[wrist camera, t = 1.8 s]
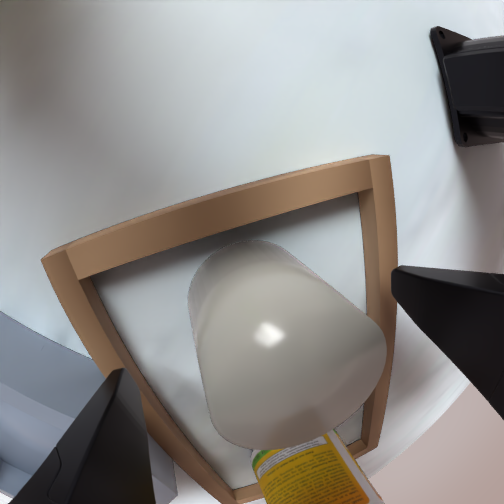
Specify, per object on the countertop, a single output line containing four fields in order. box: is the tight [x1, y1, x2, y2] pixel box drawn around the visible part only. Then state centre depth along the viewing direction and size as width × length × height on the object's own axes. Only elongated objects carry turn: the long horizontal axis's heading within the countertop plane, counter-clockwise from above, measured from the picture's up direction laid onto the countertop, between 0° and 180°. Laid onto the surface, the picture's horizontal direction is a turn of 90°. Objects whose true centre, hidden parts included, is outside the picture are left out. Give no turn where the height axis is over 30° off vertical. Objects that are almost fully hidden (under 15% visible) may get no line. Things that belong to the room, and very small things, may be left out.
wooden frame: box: [41, 155, 398, 504], centre depth 12 cm, size 12×20×1 cm, turn 14°
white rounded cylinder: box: [188, 240, 387, 450], centre depth 8 cm, size 4×4×5 cm
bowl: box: [0, 312, 178, 504], centre depth 8 cm, size 14×14×3 cm
